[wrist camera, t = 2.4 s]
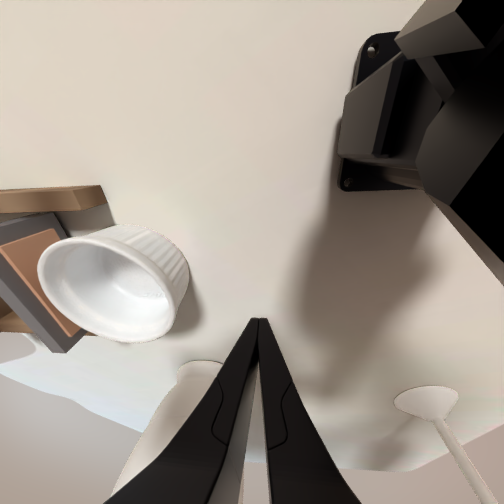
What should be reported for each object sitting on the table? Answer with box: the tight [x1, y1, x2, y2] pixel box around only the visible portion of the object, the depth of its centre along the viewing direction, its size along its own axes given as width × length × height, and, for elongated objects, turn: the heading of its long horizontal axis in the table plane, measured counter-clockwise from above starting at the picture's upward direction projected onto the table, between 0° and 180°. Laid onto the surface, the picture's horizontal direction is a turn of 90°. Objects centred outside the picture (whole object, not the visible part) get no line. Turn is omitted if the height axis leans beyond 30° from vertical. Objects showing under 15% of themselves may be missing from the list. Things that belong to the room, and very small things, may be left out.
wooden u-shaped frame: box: [0, 185, 107, 336], centre depth 15 cm, size 17×13×4 cm
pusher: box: [0, 212, 88, 353], centre depth 14 cm, size 2×10×4 cm, turn 3°
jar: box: [110, 360, 244, 504], centre depth 17 cm, size 11×10×15 cm
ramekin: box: [37, 224, 189, 343], centre depth 14 cm, size 9×9×4 cm
